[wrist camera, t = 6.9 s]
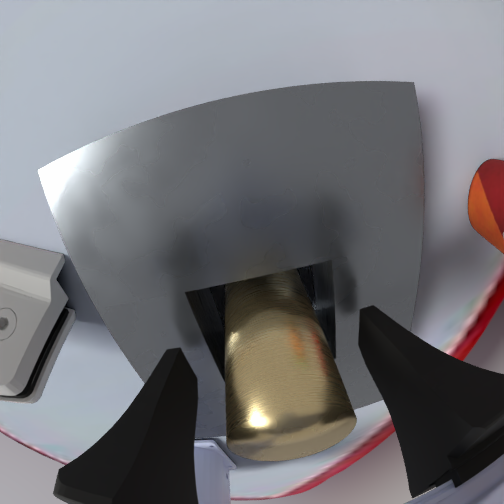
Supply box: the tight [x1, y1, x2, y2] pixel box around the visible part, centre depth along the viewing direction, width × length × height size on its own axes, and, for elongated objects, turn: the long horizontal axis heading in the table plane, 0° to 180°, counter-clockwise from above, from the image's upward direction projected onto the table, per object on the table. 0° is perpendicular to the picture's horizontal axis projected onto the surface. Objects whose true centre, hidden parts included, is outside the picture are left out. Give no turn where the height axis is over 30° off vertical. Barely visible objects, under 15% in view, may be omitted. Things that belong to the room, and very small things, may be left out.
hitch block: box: [38, 81, 424, 438], centre depth 13 cm, size 18×14×4 cm
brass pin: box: [225, 268, 357, 461], centre depth 11 cm, size 4×4×9 cm
